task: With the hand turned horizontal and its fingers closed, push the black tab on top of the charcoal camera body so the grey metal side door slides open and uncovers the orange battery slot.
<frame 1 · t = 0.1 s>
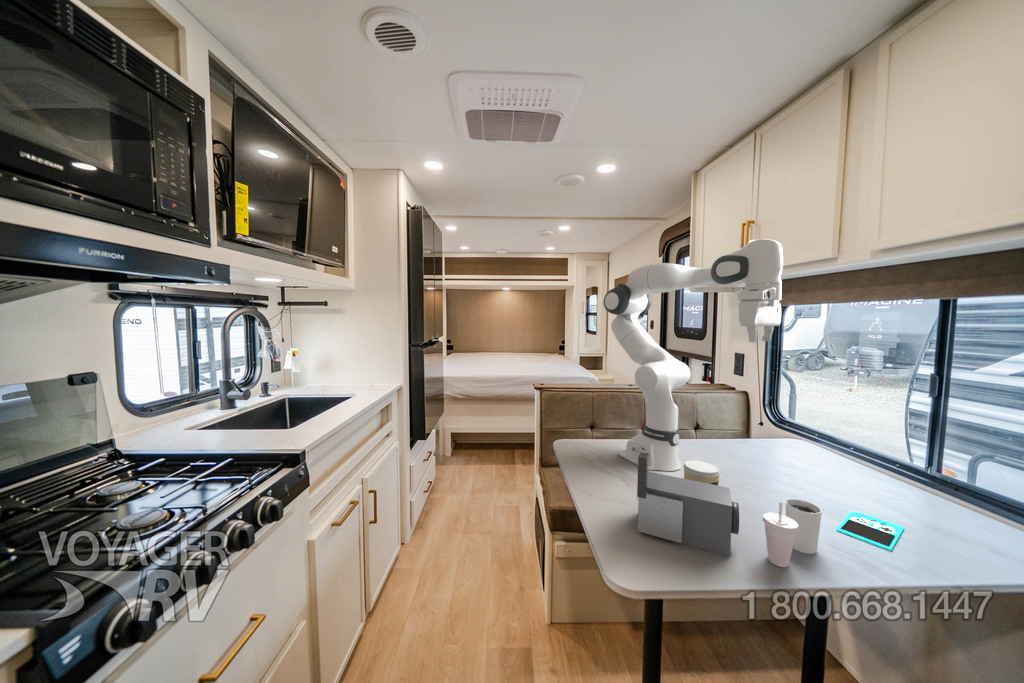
hand: (760, 341, 103), 48 cm above the table, tool pointing down, fingers open, 8 cm apart
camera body: (682, 532, 89), on the table
side door: (659, 498, 84), point 11 cm above the table, slide at 0.0 cm
coffee cup: (700, 506, 101), on the table
smoothie: (778, 562, 78), on the table
handheld game console: (870, 533, 90), on the table
white cylindrical cup: (800, 546, 83), on the table
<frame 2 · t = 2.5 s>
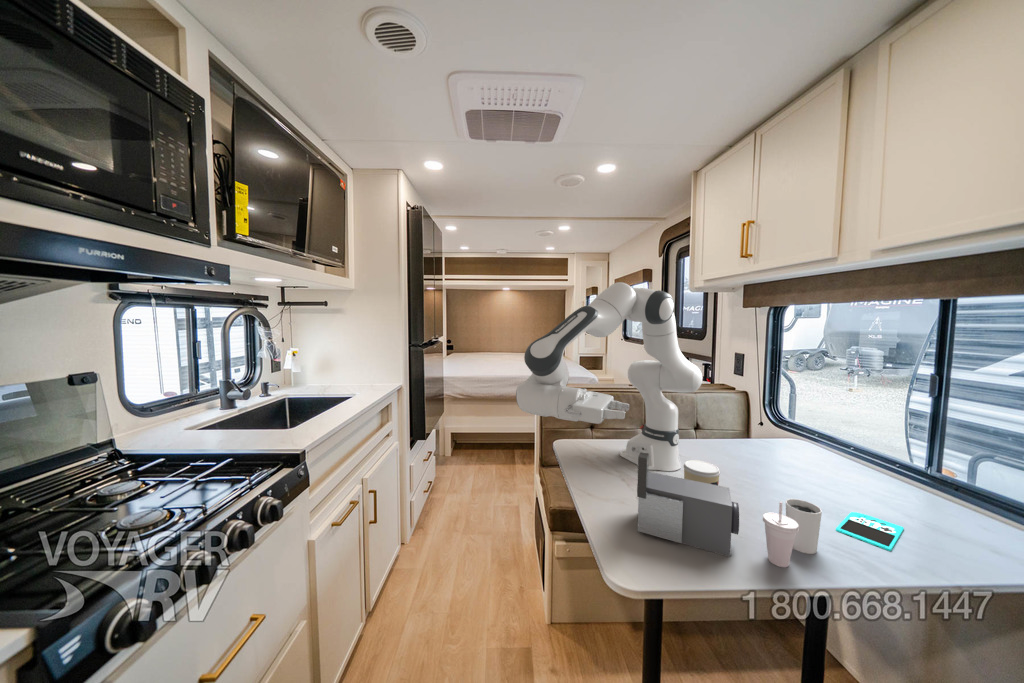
hand: (627, 411, 87), 31 cm above the table, tool horizontal, fingers open, 8 cm apart
nothing on the table moved.
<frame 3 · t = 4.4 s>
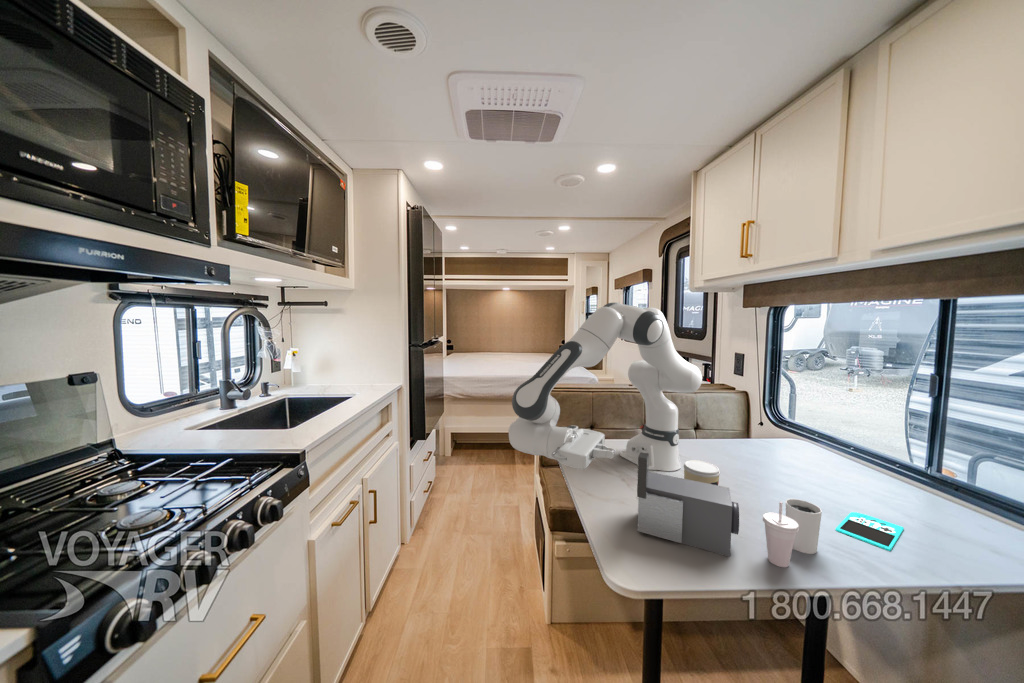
hand: (614, 453, 89), 20 cm above the table, tool horizontal, fingers closed
nothing on the table moved.
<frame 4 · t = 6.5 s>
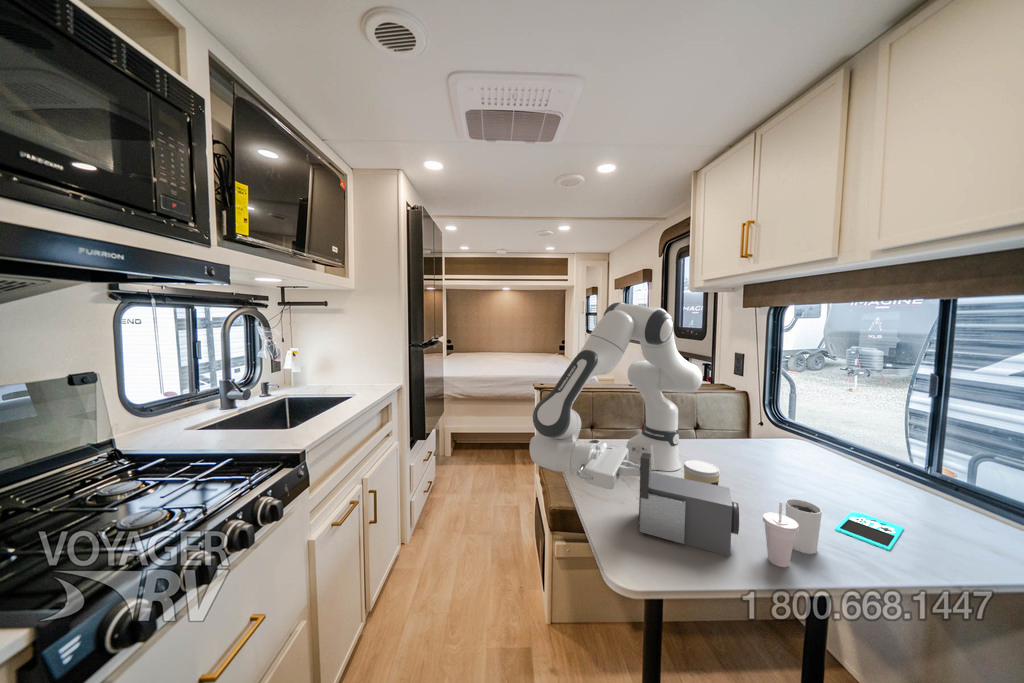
hand: (641, 471, 86), 17 cm above the table, tool horizontal, fingers closed, pressing on side door
side door: (662, 499, 84), point 11 cm above the table, slide at 0.5 cm, touching gripper
everything else where it was.
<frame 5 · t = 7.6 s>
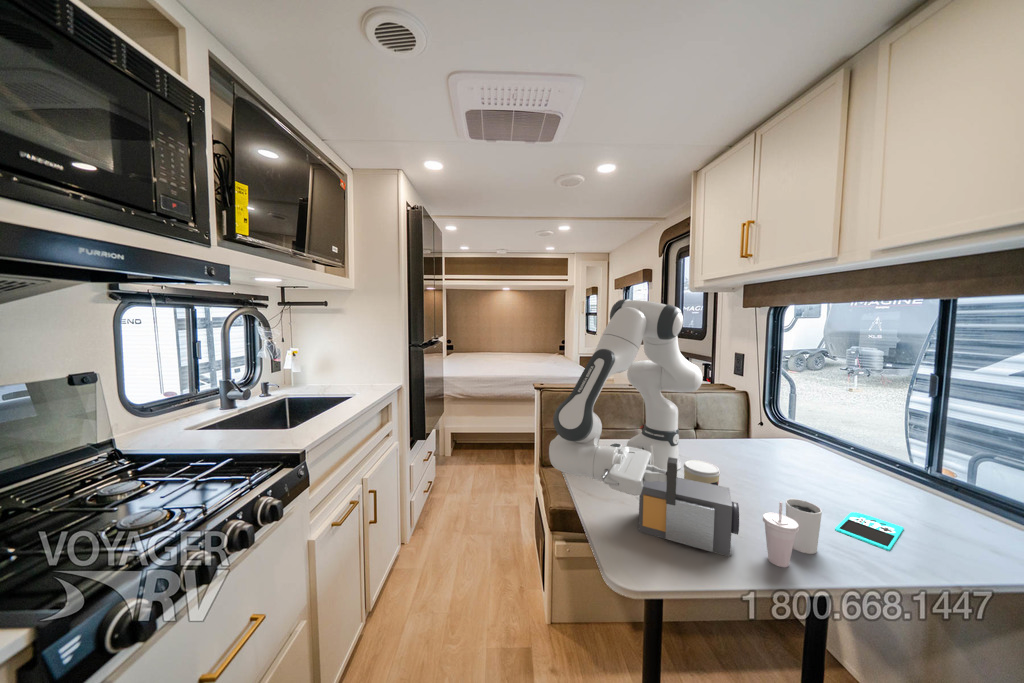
hand: (667, 476, 83), 17 cm above the table, tool horizontal, fingers closed, pressing on side door
side door: (689, 505, 81), point 11 cm above the table, slide at 6.5 cm, touching gripper
everything else where it was.
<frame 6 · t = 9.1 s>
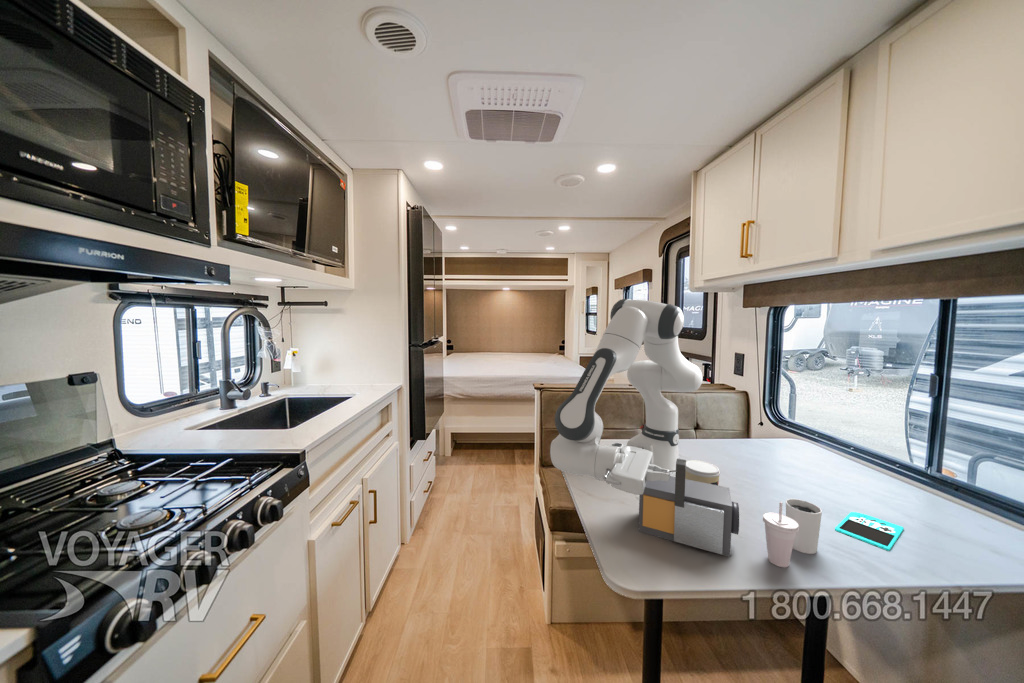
hand: (669, 475, 83), 17 cm above the table, tool horizontal, fingers closed
side door: (698, 507, 80), point 11 cm above the table, slide at 8.3 cm
everything else where it was.
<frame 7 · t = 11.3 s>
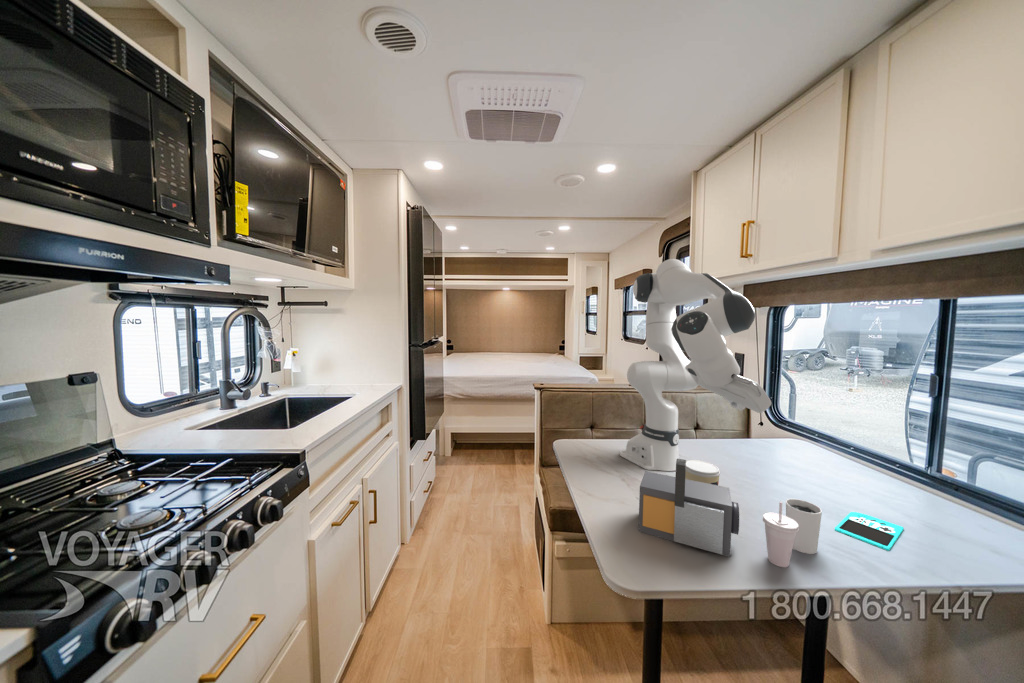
hand: (738, 407, 91), 32 cm above the table, tool tilted 40°, fingers closed
nothing on the table moved.
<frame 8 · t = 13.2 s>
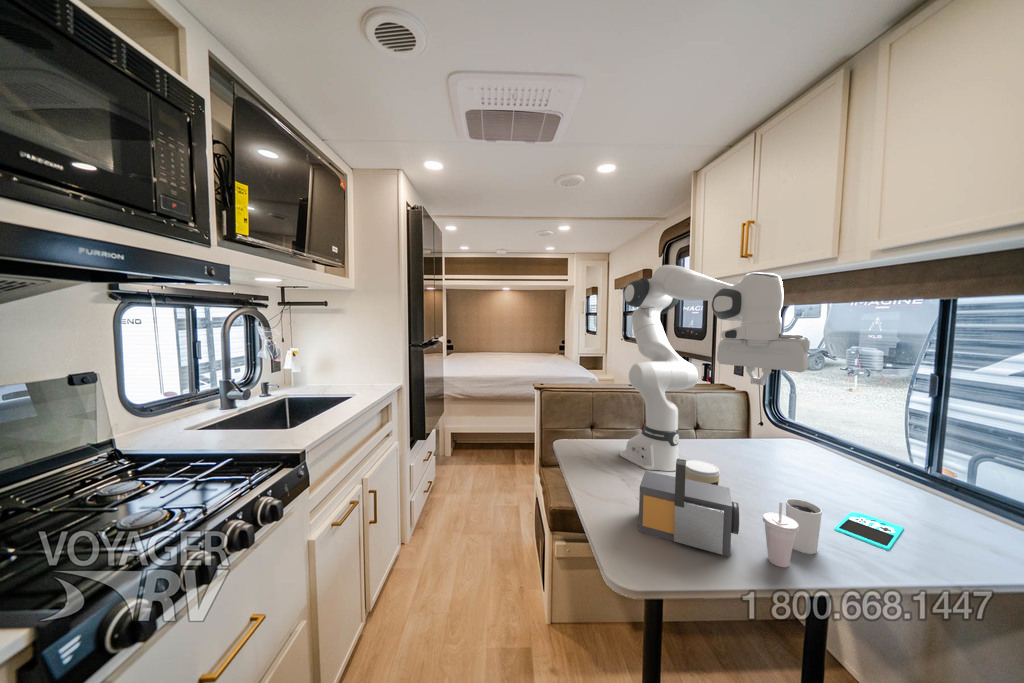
hand: (757, 384, 93), 37 cm above the table, tool pointing down, fingers closed
nothing on the table moved.
at the end: side door slide at 8.3 cm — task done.
